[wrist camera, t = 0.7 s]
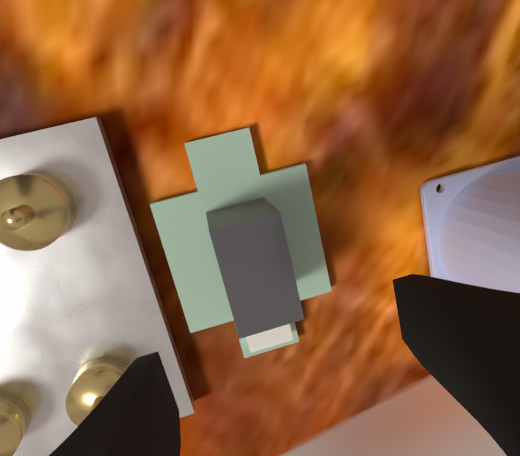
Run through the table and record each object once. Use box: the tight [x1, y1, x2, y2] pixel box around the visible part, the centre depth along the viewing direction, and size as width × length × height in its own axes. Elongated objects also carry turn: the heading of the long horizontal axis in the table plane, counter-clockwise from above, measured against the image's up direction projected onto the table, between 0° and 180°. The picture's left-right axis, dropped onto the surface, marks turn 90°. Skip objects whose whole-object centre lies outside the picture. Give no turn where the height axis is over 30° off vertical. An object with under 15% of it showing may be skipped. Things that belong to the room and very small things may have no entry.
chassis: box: [0, 117, 194, 456], centre depth 18 cm, size 13×16×4 cm
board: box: [150, 128, 331, 358], centre depth 19 cm, size 8×12×5 cm, turn 13°
